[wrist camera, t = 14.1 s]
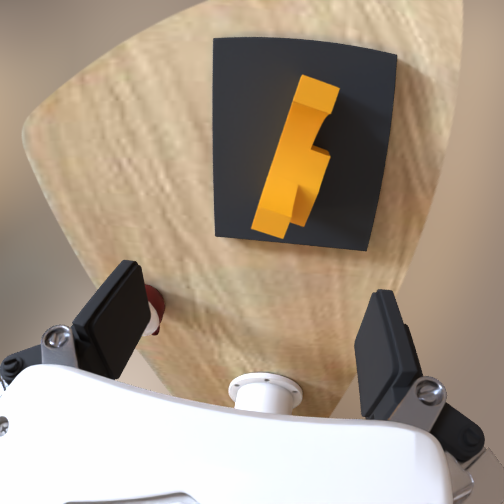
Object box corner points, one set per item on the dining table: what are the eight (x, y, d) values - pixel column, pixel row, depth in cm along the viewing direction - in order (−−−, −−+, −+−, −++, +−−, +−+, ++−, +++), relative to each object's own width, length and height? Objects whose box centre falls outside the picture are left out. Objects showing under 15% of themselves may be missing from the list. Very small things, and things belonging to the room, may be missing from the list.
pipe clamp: (303, 211, 28) (304, 246, 23) (260, 197, 28) (250, 228, 23) (348, 95, 22) (364, 98, 17) (300, 77, 22) (301, 74, 16)
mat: (365, 247, 30) (366, 251, 30) (217, 232, 32) (215, 236, 31) (394, 55, 20) (397, 54, 19) (215, 39, 21) (213, 38, 21)
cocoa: (172, 321, 41) (141, 389, 31) (134, 312, 41) (98, 374, 31) (167, 267, 36) (124, 339, 26) (123, 259, 36) (74, 322, 26)
